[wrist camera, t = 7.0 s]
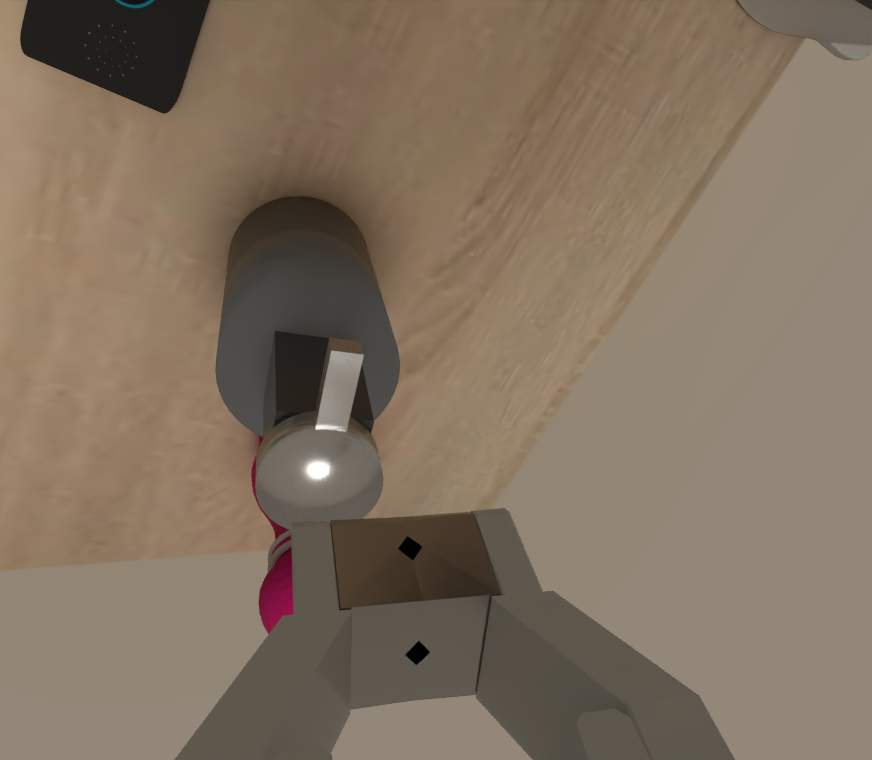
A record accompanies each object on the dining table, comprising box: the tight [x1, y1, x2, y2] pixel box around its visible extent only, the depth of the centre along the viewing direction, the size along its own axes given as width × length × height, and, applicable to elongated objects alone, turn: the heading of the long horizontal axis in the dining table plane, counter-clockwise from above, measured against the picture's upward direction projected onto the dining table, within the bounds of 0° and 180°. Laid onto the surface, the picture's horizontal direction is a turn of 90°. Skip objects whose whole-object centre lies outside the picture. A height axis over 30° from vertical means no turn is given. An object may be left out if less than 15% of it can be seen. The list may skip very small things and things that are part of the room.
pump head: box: [255, 338, 383, 530], centre depth 33 cm, size 8×5×9 cm, turn 166°
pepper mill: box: [251, 436, 293, 634], centre depth 48 cm, size 7×7×20 cm
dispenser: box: [216, 197, 400, 439], centre depth 40 cm, size 9×9×21 cm
